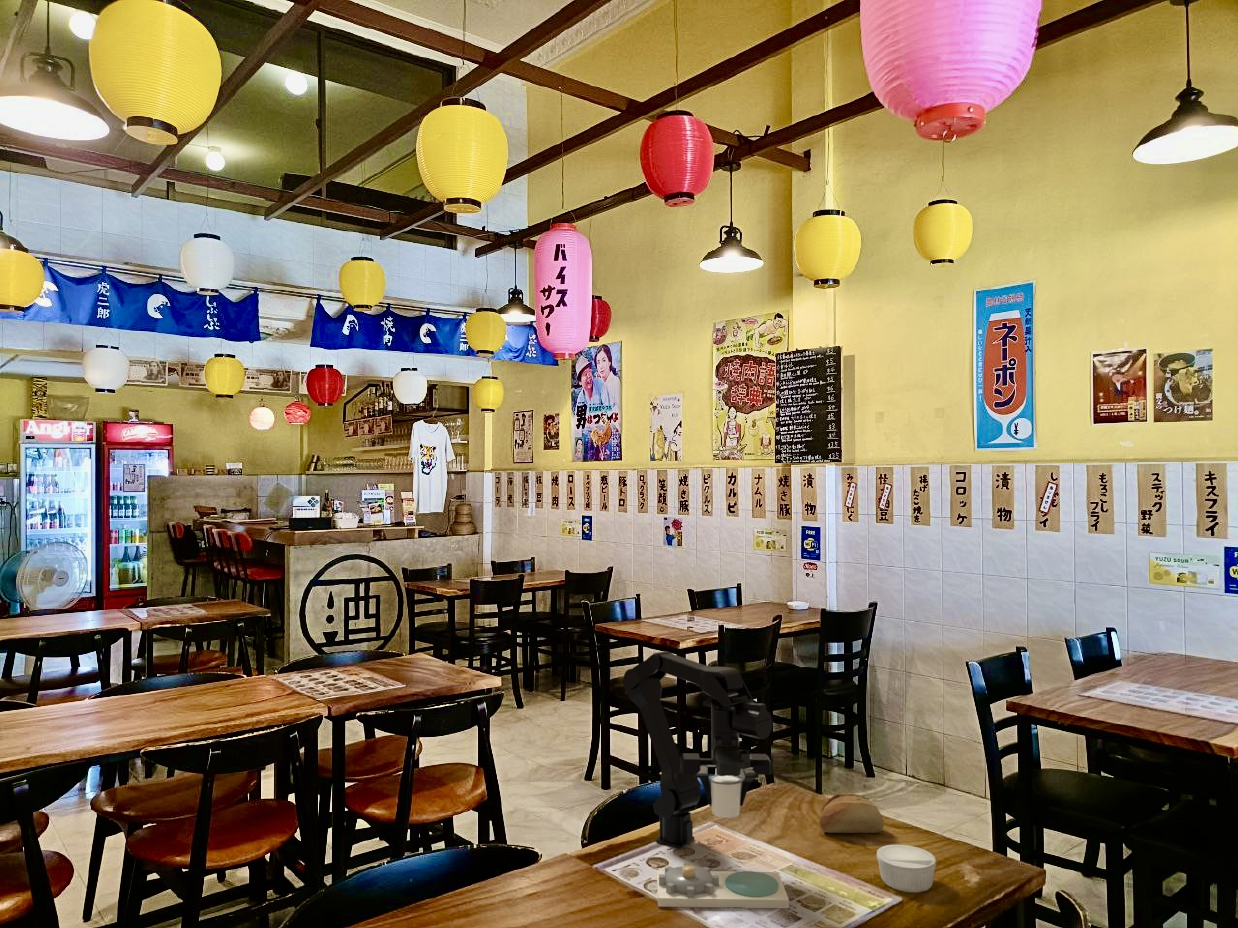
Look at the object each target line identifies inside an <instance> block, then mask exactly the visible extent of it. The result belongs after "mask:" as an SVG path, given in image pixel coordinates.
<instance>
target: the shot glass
mask: <svg viewBox="0 0 1238 928" xmlns="http://www.w3.org/2000/svg"><path fill="white" fill-rule="evenodd" d="M709 784H710V792H711V814H712V815H713V816H716V817H719V818H724V819H731V818H736V817H738V816H740V810H741V809H740V807H741V806H740V798H741V786H742V780H741V777H740V776H733V775H725V776H719V775H718V774H715V775H712V776H709Z"/></svg>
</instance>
